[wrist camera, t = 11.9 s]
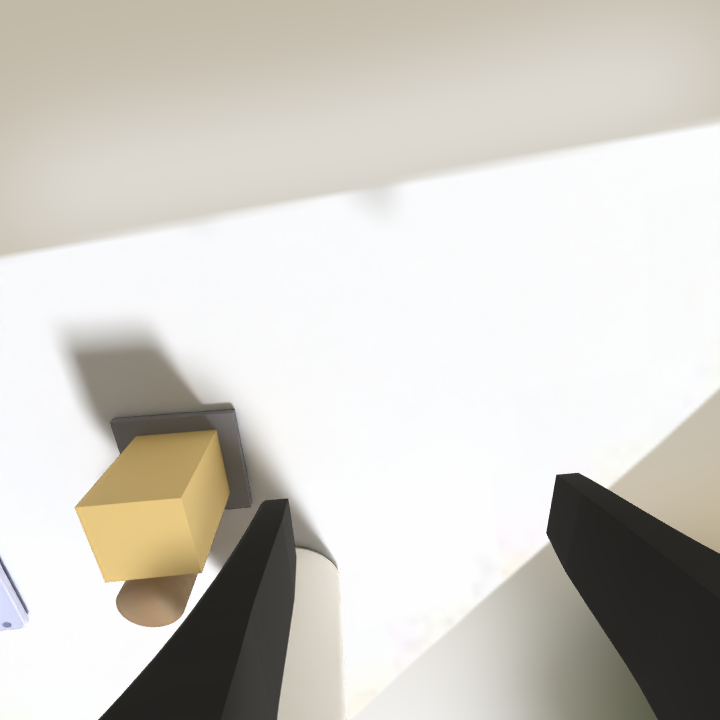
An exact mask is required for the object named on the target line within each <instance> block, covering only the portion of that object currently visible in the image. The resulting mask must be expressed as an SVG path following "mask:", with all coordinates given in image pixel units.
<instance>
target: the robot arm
mask: <svg viewBox="0 0 720 720" xmlns="http://www.w3.org/2000/svg"><path fill="white" fill-rule="evenodd" d="M546 533H547V536H548V538H549V540H550V542H551V544H552V546H553V548H554V550H555V552H556V554H557V556H558V558H559V560H560V562H561V564H562V566H563V568H564V569H565V572H566V573H567V575H568V576H569V578H570V579H571V581H572V583H573V584H574V586H575V587H576V589H577V590H578V592H579V593H580V595H581V596H582V598H583V599H584V601H585V603H586V604H587V606H588V607H589V609H590V610H591V612H592V613H593V615H594V616H595V618H596V619H597V621H598V622H599V624H600V625H601V627H602V629H603V630H604V632H605V633H606V635H607V636H608V638H609V639H610V641H611V642H612V644H613V645H614V647H615V648H616V650H617V651H618V653H619V654H620V656H621V657H622V659H623V660H624V662H625V664H626V665H627V667H628V668H629V670H630V672H631V673H632V675H633V676H634V678H635V680H636V681H637V683H638V685H639V686H640V688H641V689H642V692H643V693H644V695H645V697H646V699H647V701H648V702H649V704H650V706H651V708H652V710H653V712H654V713H655V715H656V717H657V719H658V720H720V554H719V553H717V552H715V551H714V550H712V549H710V548H708V547H706V546H704V545H702V544H700V543H699V542H697V541H695V540H693V539H691V538H690V537H688V536H686V535H684V534H683V533H681V532H679V531H677V530H675V529H674V528H672V527H670V526H669V525H667V524H665V523H663V522H662V521H660V520H658V519H656V518H655V517H653V516H651V515H650V514H648V513H646V512H645V511H643V510H641V509H639V508H638V507H636V506H635V505H633V504H631V503H629V502H628V501H626V500H624V499H623V498H621V497H619V496H618V495H616V494H615V493H613V492H611V491H610V490H608V489H606V488H604V487H603V486H601V485H599V484H598V483H596V482H594V481H592V480H591V479H589V478H587V477H585V476H583V475H581V474H579V473H572V474H560V475H556V480H555V486H554V492H553V497H552V503H551V509H550V515H549V520H548V526H547V532H546ZM296 559H297V556H296V549H295V543H294V536H293V529H292V522H291V515H290V508H289V501H288V499H277V500H266V501H264V502H263V503H262V504H261V505H260V507H259V509H258V511H257V513H256V514H255V516H254V518H253V520H252V521H251V523H250V525H249V527H248V528H247V530H246V532H245V533H244V535H243V537H242V538H241V540H240V541H239V543H238V545H237V546H236V548H235V549H234V551H233V552H232V554H231V555H230V557H229V559H228V560H227V562H226V563H225V565H224V566H223V568H222V569H221V571H220V572H219V574H218V575H217V577H216V578H215V580H214V581H213V582H212V584H211V585H210V586H209V588H208V589H207V591H206V592H205V593H204V595H203V596H202V598H201V599H200V600H199V602H198V603H197V604H196V606H195V607H194V609H193V610H192V611H191V613H190V614H189V615H188V617H187V618H186V619H185V620H184V622H183V623H182V624H181V626H180V627H179V628H178V629H177V631H176V632H175V633H174V634H173V636H172V637H171V638H170V639H169V640H168V642H167V643H166V644H165V645H164V647H163V648H162V649H161V650H160V651H159V653H158V654H157V655H156V656H155V657H154V659H153V660H152V661H151V662H150V663H149V664H148V665H147V667H146V668H145V669H144V670H143V671H142V672H141V673H140V674H139V676H138V677H137V678H136V679H135V680H134V681H133V682H132V684H131V685H130V686H129V687H128V688H127V689H126V690H125V691H124V693H123V694H122V695H121V696H120V697H119V698H118V699H117V700H116V701H115V702H114V703H113V705H112V706H111V707H110V708H109V709H108V710H107V711H106V712H105V713H104V714H103V715H102V716H101V717H100V718H99V720H277V716H278V707H279V700H280V694H281V687H282V680H283V674H284V667H285V660H286V654H287V647H288V640H289V634H290V627H291V620H292V613H293V606H294V599H295V582H296ZM28 620H29V618H28V615H27V614H26V612H25V610H24V608H23V606H22V604H21V602H20V600H19V598H18V597H17V595H16V593H15V591H14V589H13V587H12V585H11V583H10V581H9V580H8V578H7V576H6V574H5V572H4V570H3V568H2V566H1V564H0V631H3V630H13V629H20V628H23V627H24V626H25V625H26V623H27V622H28Z"/></svg>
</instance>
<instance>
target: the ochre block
mask: <svg viewBox="0 0 720 720" xmlns="http://www.w3.org/2000/svg"><path fill="white" fill-rule="evenodd" d="M229 494H230V490H229V485H228V480H227V476H226V471H225V466H224V462H223V457H222V452H221V448H220V443H219V439H218V434H217V430H206V431H194V432H182V433H169V434H157V435H145V436H136V437H135V438H134V439H133V440H132V442H131V443H130V444H129V445H128V446H127V447H126V449H125V450H124V451H123V452H122V453H121V454H120V455H119V457H118V458H117V459H116V460H115V461H114V462H113V464H112V465H111V466H110V467H109V468H108V469H107V471H106V472H105V473H104V474H103V475H102V476H101V477H100V479H99V480H98V481H97V482H96V483H95V484H94V486H93V487H92V488H91V489H90V490H89V491H88V493H87V494H86V495H85V496H84V497H83V498H82V500H81V501H80V502H79V503H78V504H77V505H76V506H75V510H76V512H77V515H78V517H79V519H80V522H81V524H82V527H83V529H84V532H85V534H86V537H87V539H88V542H89V544H90V546H91V549H92V551H93V554H94V556H95V559H96V561H97V564H98V566H99V568H100V571H101V573H102V576H103V578H104V581H105V582H114V581H124V580H134V579H144V578H154V577H164V576H174V575H184V574H194V573H202V571H203V568H204V565H205V562H206V560H207V557H208V554H209V551H210V548H211V545H212V543H213V540H214V537H215V534H216V531H217V528H218V526H219V523H220V520H221V517H222V514H223V511H224V509H225V506H226V503H227V500H228V497H229Z"/></svg>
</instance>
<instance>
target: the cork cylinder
mask: <svg viewBox="0 0 720 720" xmlns="http://www.w3.org/2000/svg"><path fill="white" fill-rule="evenodd" d="M197 574H198V573H194V574H184V575H174V576H164V577H154V578H144V579H134V580H126V581H125V583H124V585H123V587H122V588H121V590H120V592H119V594H118V596H117V599H116V605H117V608H118V610H119V612H120V613H121V615H122V616H123V617H125V618H126V619H127V620H129V621H131V622H133V623H135V624H138V625H141V626H146V627H160V626H165V625H169V624H171V623H173V622H175V621H177V620H178V619H179V618H180V617H181V616H182V614H183V613H184V610H185V607H186V605H187V602H188V599H189V596H190V594H191V591H192V588H193V585H194V583H195V580H196V577H197Z"/></svg>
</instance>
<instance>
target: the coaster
mask: <svg viewBox="0 0 720 720" xmlns="http://www.w3.org/2000/svg"><path fill="white" fill-rule="evenodd" d="M110 424H111V427H112V430H113V433H114V436H115V439H116V442H117V446H118V449H119V452H120V454H121V453H122V452H123V451H124V450H125V449H126V447H127V446H128V445H129V444H130V443H131V442H132V440H133V439H134V438H135V437H136V436H145V435H157V434H169V433H182V432H194V431H206V430H217V434H218V439H219V443H220V448H221V452H222V457H223V462H224V466H225V471H226V476H227V480H228V485H229V490H230V494H229V497H228V500H227V503H226V506H225V509H237V508H248V507H251V504H252V499H251V494H250V488H249V483H248V478H247V472H246V467H245V462H244V456H243V451H242V446H241V440H240V435H239V430H238V424H237V419H236V414H235V409H232V410H219V411H205V412H192V413H179V414H166V415H152V416H139V417H126V418H114V419H113V420H112V421H111V422H110ZM225 509H224V510H225Z"/></svg>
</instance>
